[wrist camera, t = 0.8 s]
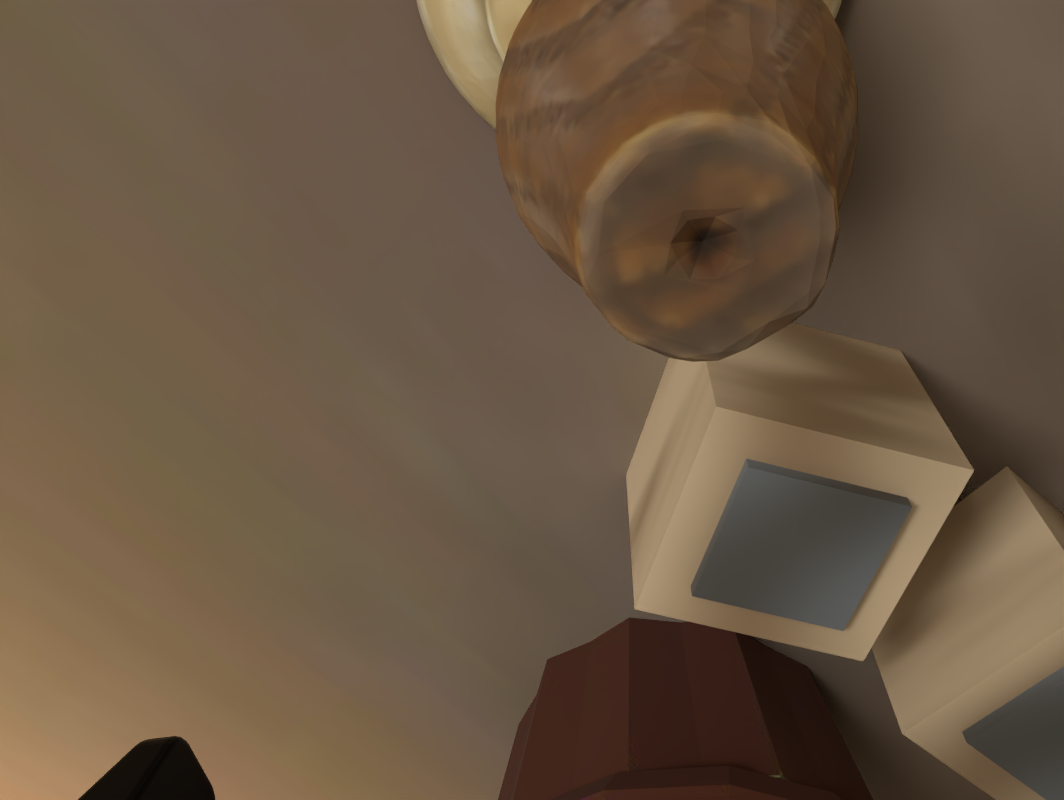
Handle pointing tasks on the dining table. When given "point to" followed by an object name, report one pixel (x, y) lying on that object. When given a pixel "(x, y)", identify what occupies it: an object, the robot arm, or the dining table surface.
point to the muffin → (678, 723)
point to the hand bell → (668, 151)
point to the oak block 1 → (789, 490)
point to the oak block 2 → (986, 643)
